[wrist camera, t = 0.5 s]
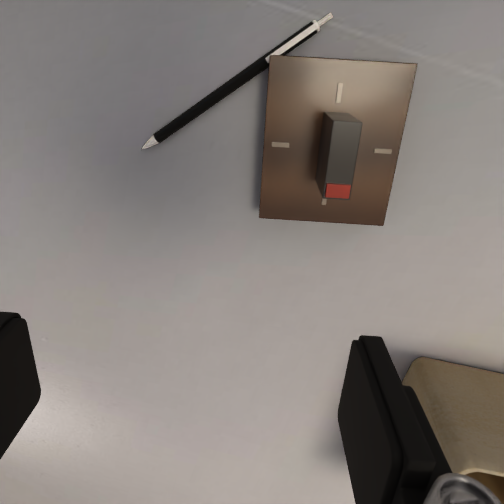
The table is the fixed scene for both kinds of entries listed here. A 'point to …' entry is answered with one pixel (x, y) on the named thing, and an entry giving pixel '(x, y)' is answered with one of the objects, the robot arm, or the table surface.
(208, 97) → the pen
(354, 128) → the dial knob
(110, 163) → the table surface
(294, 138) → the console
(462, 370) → the flower pot
